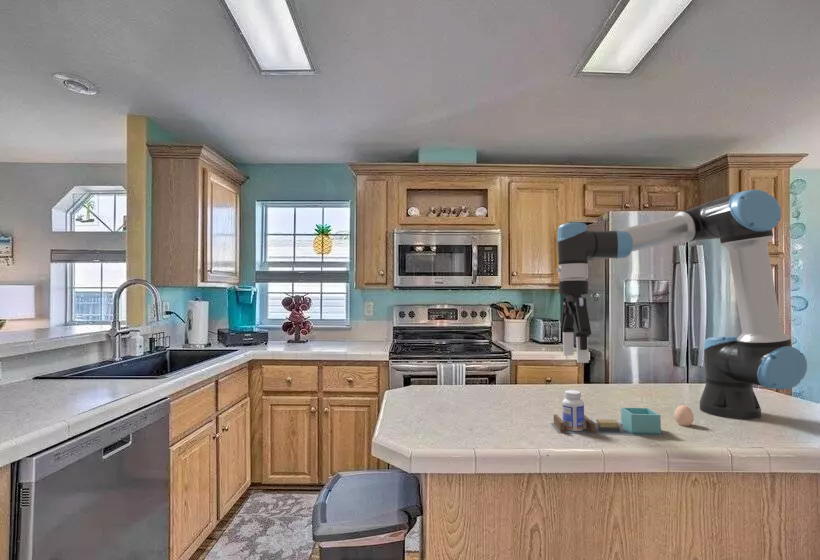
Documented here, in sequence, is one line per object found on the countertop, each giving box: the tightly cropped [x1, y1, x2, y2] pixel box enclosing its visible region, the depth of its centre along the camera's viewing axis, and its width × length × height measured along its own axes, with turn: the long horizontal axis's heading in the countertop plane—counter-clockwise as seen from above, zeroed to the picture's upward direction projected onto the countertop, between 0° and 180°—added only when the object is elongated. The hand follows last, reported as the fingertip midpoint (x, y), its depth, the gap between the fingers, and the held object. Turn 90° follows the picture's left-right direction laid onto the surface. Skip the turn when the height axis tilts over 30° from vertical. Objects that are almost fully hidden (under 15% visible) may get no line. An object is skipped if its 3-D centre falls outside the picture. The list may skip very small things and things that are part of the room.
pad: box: [595, 418, 617, 428], centre depth 114 cm, size 4×3×1 cm
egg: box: [673, 404, 694, 427], centre depth 118 cm, size 4×4×6 cm
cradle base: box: [590, 418, 623, 432], centre depth 114 cm, size 7×4×2 cm, turn 84°
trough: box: [553, 414, 595, 435], centre depth 115 cm, size 8×8×2 cm
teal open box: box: [620, 406, 662, 435], centre depth 113 cm, size 7×7×5 cm
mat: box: [550, 422, 666, 438], centre depth 114 cm, size 26×9×1 cm, turn 84°
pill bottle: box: [561, 389, 585, 431], centre depth 115 cm, size 5×5×10 cm
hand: (575, 358), depth 116 cm, fingers open, 13 cm apart
